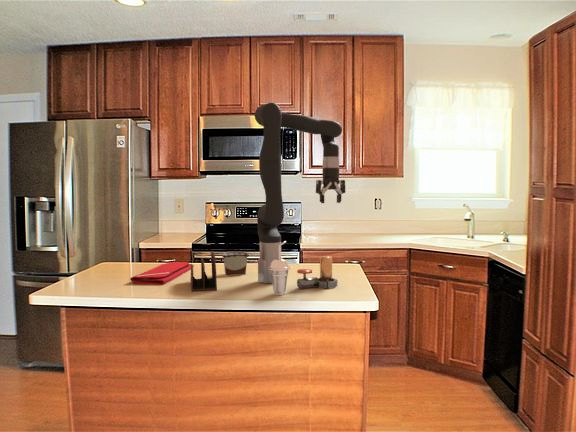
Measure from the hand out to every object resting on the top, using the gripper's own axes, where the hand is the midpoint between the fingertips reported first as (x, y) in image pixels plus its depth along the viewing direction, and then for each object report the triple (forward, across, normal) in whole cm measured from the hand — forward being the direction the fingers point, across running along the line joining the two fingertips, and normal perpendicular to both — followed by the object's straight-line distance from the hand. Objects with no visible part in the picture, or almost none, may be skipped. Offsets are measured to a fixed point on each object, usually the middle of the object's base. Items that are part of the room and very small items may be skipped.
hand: (330, 203), depth 226 cm
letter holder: (+34, -58, +4) cm, 68 cm away
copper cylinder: (+33, -13, -18) cm, 40 cm away
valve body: (+33, -17, -18) cm, 41 cm away
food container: (+33, -38, +23) cm, 56 cm away
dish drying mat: (+34, -68, +35) cm, 83 cm away
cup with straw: (+33, -36, -22) cm, 54 cm away
